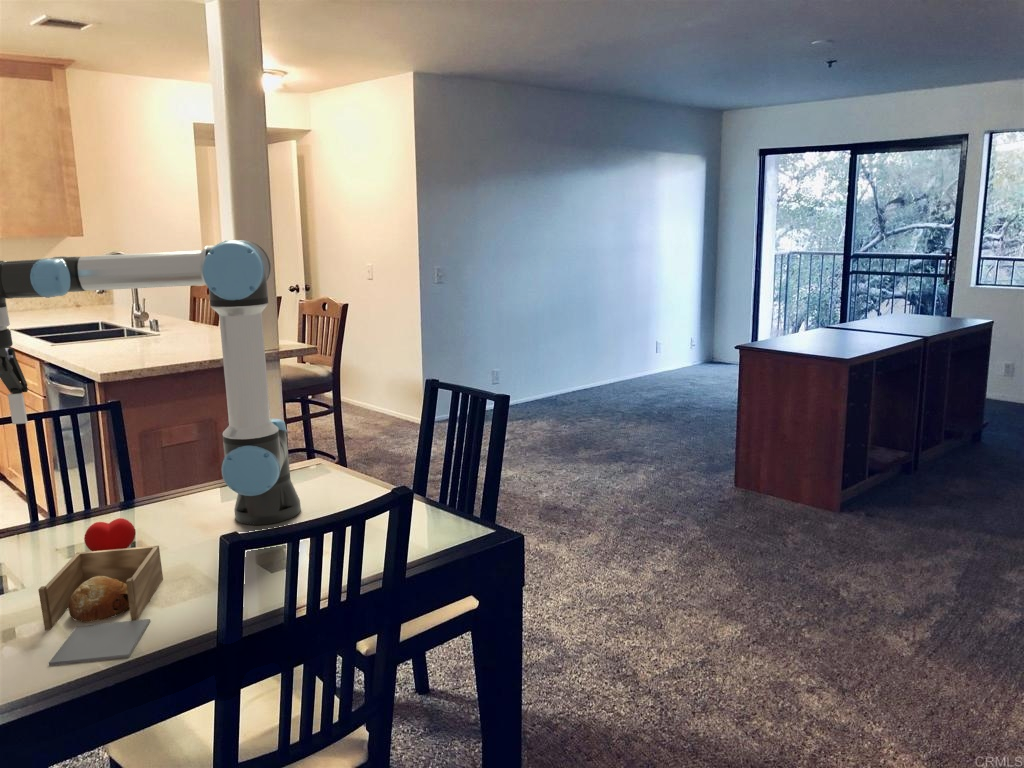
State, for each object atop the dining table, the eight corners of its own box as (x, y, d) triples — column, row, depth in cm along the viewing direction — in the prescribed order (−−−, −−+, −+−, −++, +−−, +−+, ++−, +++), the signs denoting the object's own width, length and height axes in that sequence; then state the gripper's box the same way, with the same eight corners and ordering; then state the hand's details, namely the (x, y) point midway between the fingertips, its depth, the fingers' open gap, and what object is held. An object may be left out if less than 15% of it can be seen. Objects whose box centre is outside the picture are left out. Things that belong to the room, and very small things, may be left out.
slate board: (150, 621, 140) (149, 618, 140) (128, 657, 129) (128, 654, 129) (77, 628, 139) (77, 626, 139) (49, 665, 127) (48, 662, 127)
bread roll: (99, 615, 151) (75, 581, 149) (147, 590, 151) (123, 556, 149) (75, 642, 141) (49, 606, 140) (126, 616, 141) (101, 579, 140)
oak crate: (163, 578, 157) (158, 542, 156) (136, 621, 141) (130, 581, 139) (82, 586, 155) (76, 549, 154) (44, 630, 138) (38, 589, 137)
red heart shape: (89, 579, 158) (82, 531, 156) (89, 566, 165) (82, 520, 163) (140, 568, 163) (134, 522, 161) (138, 556, 169) (132, 511, 167)
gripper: (-2, 323, 173) (13, 418, 177) (-67, 338, 149) (-47, 448, 153) (35, 321, 174) (49, 416, 178) (-24, 336, 150) (-5, 446, 154)
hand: (5, 431), depth 166 cm, fingers open, 13 cm apart
